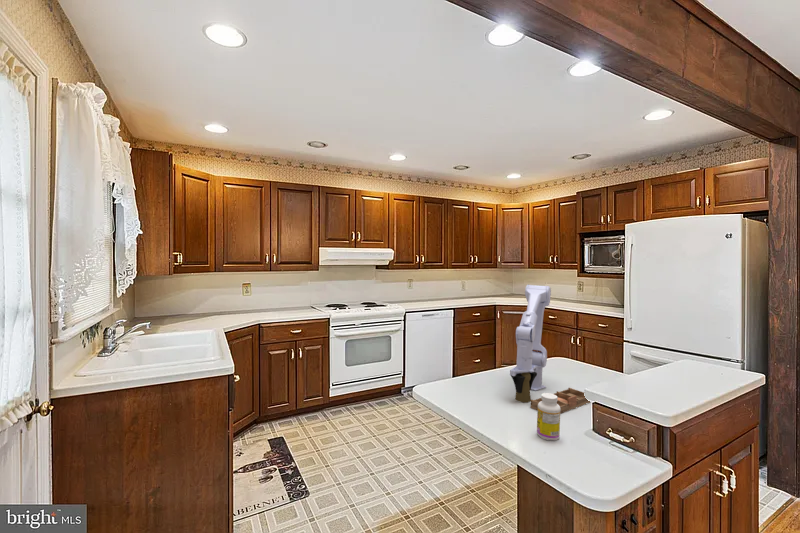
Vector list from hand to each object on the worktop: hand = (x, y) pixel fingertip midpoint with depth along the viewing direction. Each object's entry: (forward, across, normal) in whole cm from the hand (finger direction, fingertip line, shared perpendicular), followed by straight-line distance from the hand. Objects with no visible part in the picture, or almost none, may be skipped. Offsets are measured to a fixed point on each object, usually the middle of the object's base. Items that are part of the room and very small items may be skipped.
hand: (523, 391), depth 144 cm
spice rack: (+3, +8, -11) cm, 14 cm away
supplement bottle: (+4, -18, -23) cm, 29 cm away
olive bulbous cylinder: (+4, 0, 0) cm, 4 cm away
